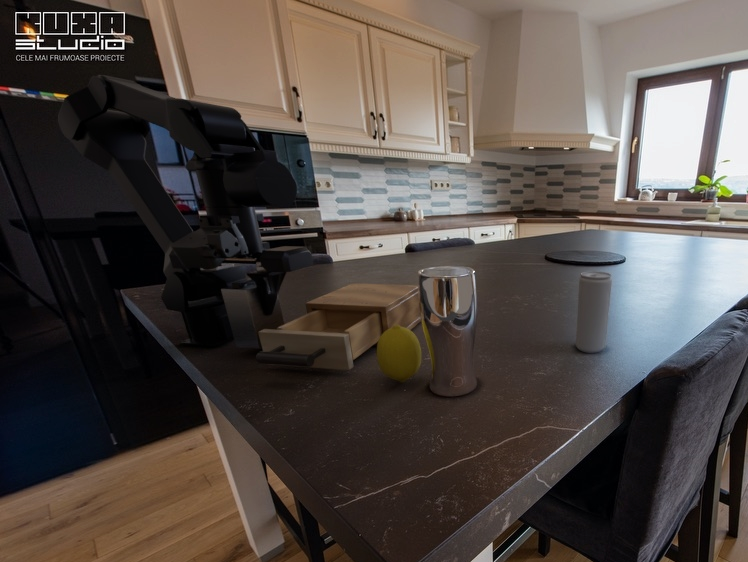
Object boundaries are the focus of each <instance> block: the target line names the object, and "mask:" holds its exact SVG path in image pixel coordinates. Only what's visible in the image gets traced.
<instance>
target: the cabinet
mask: <svg viewBox="0 0 748 562" xmlns="http://www.w3.org/2000/svg"><path fill="white" fill-rule="evenodd" d="M418 287H419V285H412V284H389V283H388V284H386V283H363V282H362V283H358V282H357V283H356V282H353V283H350V284H347V285H346V286H343V287H340V288H337V289H336V290H333V291H331V292H329V293H326V294H324V295H321V296H318V297H317V298H313V299H312V300H309V301H307V302H305V308H306V314H308V313H311V312H313V311H315V310H317V309H333V310H354V311H375V312H381V315H382V323H383V332H385V331H386V330H388V329H390V328H392V327H393V326H394V325H399V326H401V327H404V328H407V329H409V330H410V331H412V329H413V328H415V327H416V326H418V324H419V323H421V318H420V310H419V289H418ZM377 345H378V342H377V343H375V344H374V345H373V346H372V347H377Z"/></svg>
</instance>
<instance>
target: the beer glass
mask: <svg viewBox="0 0 748 562" xmlns="http://www.w3.org/2000/svg"><path fill="white" fill-rule="evenodd" d="M417 274H418V286H419V287H418V289H419V310H420V318H421V322H420V323H421V327H422V331H423V335H424V338H425V342H426V346H427V349H428V353H429V357H430V378H429V389H430V391H431V392H432V393H433V394H435V395H437V396H440V397H446V398H447V397H451V398H452V397H461V396H464V395H467V394H469V393H471V392H473V391H474V390H475V389H476V388H477V385H478V380H477V376H476V371H475V367H474V366H475V365H474V349H475V342H476V341H475V340H476V335H477V334H476V333H477V327H478V318H479V301H478V291H477V281H476V271H475V269H474V268H472V267H469V266H467V267H466V266H462V265H461V266H460V265H441V266H432V267H426V268H423V269H420V270H418V272H417Z"/></svg>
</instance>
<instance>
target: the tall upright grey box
mask: <svg viewBox="0 0 748 562" xmlns="http://www.w3.org/2000/svg"><path fill="white" fill-rule="evenodd" d="M221 292H222V296H223V299H224V303H225V307H226V310H227V314H228V318H229V322H230V325H231V329H232V333H233V337H234V339H233V340H234V344H235V347H236V348H239V349H240V348H243V349H255V350H256V349H257V350H260V349H262V345H261V341H260V337H259V333H258V332H259V331H261V330H263V329H272V330H278V329H277V328H278V327H280V326H282V325H284V324H285V321H284V315H283V312H282V311H283V310H282V305H281V301H280V297H279V295H278V296H277V300H276V303H275V307H274V310H273V313H272V314H271V315H269V316H266V315H265V313H264V311H263V308H262V305H261V301H260V298H259V294H258V290H257V286H256V283H255V282H254V281H253V280H252V279H251V278H250V277H248V278H246V279H244V280H240V281H237V282H233V283H232V286H230V287H226V288H223V289H221Z"/></svg>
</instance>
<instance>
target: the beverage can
mask: <svg viewBox="0 0 748 562" xmlns="http://www.w3.org/2000/svg"><path fill="white" fill-rule="evenodd" d="M612 282H613V279H612V274H611V273H609V272H605V271H595V270H594V271H593V270H592V271H583V272H581V273H580V277H579V279H578V293H577V294H578V295H577V296H578V297H577V315H576V316H577V319H576V334H575V346H576V349H578V350H579V351H581V352H583V353H588V354H595V353H600V352H602V351H604V350H605V349H606V347H607V339H608V338H607V337H608V326H609V316H610V305H611V294H612Z"/></svg>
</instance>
